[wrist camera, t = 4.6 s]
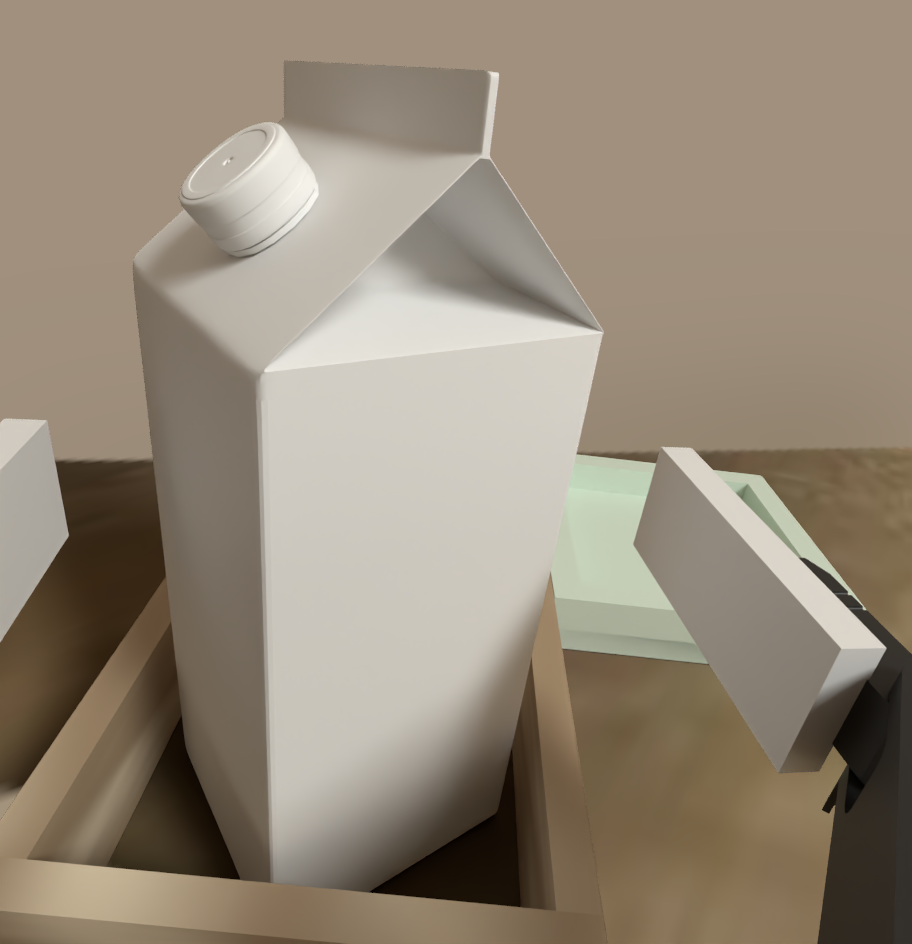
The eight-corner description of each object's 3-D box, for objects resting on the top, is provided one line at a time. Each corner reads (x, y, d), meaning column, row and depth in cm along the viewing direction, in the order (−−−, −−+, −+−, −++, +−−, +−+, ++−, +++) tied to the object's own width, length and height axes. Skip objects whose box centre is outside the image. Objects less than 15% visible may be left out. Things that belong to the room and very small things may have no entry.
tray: (543, 646, 27) (555, 597, 26) (524, 488, 38) (531, 449, 37) (859, 680, 27) (885, 633, 26) (747, 513, 39) (761, 475, 38)
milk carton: (379, 666, 25) (426, 82, 16) (498, 817, 20) (658, 101, 11) (183, 747, 21) (101, 32, 12) (272, 959, 16) (244, 27, 7)
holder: (-13, 1009, 15) (-58, 905, 13) (202, 618, 26) (195, 533, 24) (572, 1063, 15) (612, 969, 13) (532, 653, 27) (550, 572, 25)
